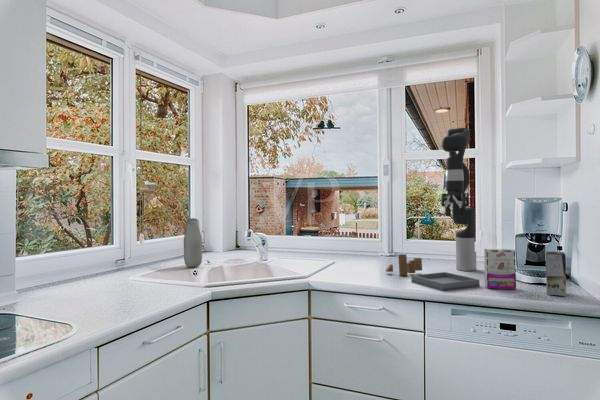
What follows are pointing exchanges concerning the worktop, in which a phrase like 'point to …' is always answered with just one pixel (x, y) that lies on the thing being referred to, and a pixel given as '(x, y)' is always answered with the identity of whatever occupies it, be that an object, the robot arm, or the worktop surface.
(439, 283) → the tray
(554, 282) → the coffee box
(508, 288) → the candy bar box
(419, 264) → the wooden block set
